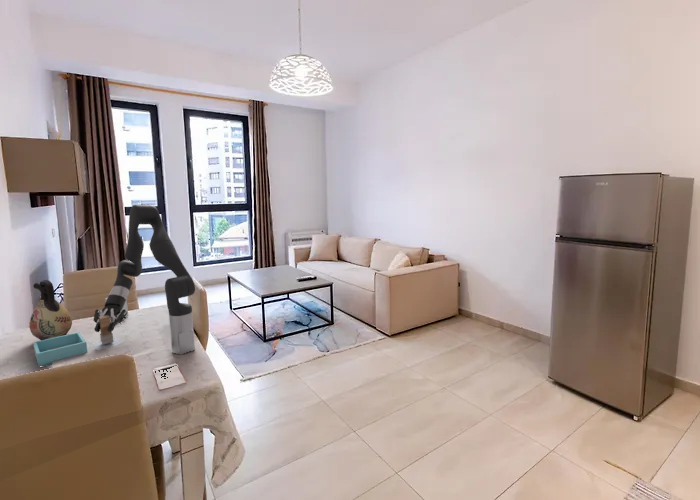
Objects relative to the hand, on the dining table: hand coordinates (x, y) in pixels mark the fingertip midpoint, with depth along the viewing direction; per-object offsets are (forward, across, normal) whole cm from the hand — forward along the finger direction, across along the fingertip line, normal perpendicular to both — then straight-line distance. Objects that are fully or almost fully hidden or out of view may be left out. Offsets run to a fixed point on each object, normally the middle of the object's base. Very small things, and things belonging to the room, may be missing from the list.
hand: (103, 331), depth 157 cm
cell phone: (+24, +41, -11) cm, 49 cm away
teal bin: (+10, -14, +1) cm, 18 cm away
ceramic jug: (-1, -30, +13) cm, 33 cm away
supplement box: (-22, -19, +34) cm, 45 cm away
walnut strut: (+3, 0, +5) cm, 6 cm away
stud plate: (+4, 0, +7) cm, 8 cm away
